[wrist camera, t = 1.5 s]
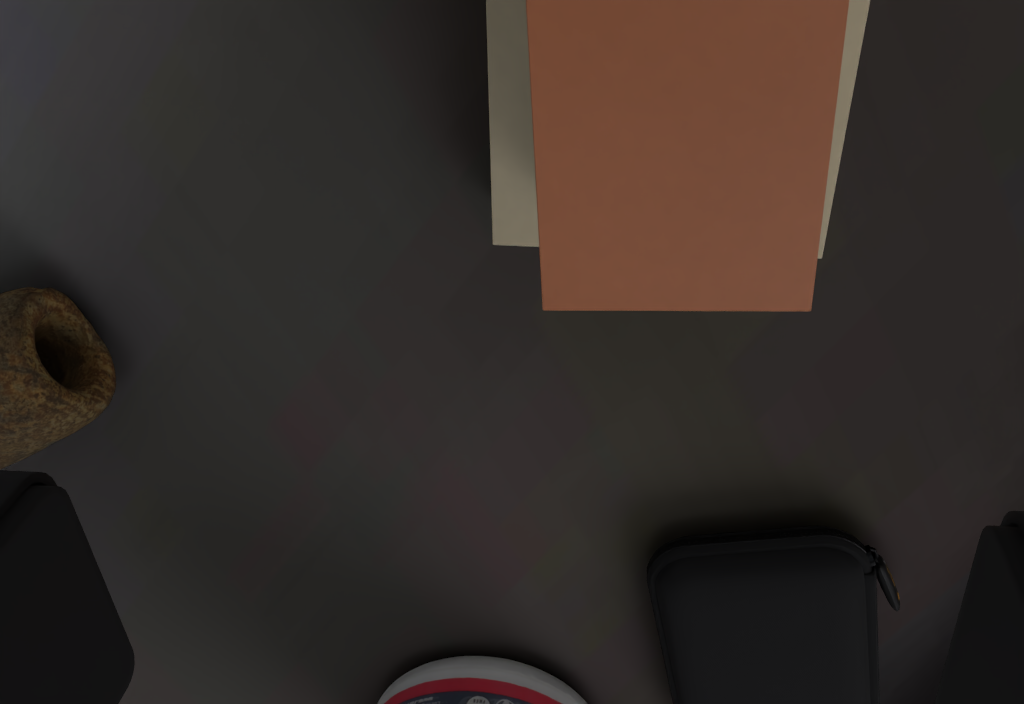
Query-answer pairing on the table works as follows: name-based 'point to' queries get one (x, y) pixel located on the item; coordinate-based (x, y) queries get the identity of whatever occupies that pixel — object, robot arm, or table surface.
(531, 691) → the supplement tub
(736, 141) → the terracotta book
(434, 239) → the table surface
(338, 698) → the table surface
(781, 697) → the carrying case
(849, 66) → the cream hardcover
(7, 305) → the brown vase
